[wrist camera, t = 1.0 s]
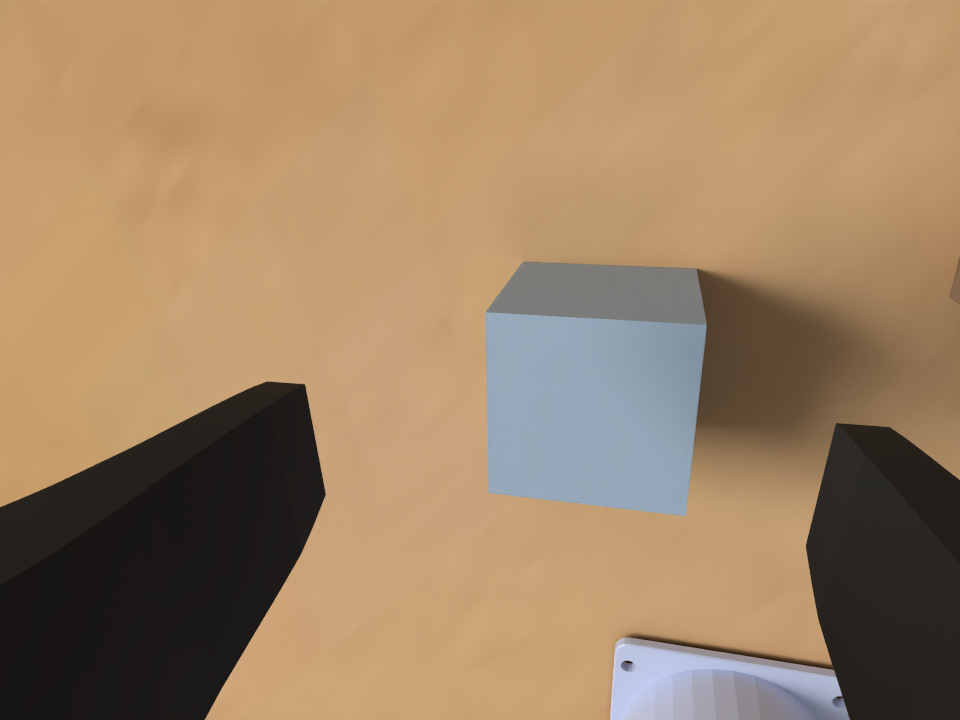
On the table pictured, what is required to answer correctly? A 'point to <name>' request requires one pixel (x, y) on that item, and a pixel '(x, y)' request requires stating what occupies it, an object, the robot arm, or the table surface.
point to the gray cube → (595, 384)
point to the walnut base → (956, 285)
